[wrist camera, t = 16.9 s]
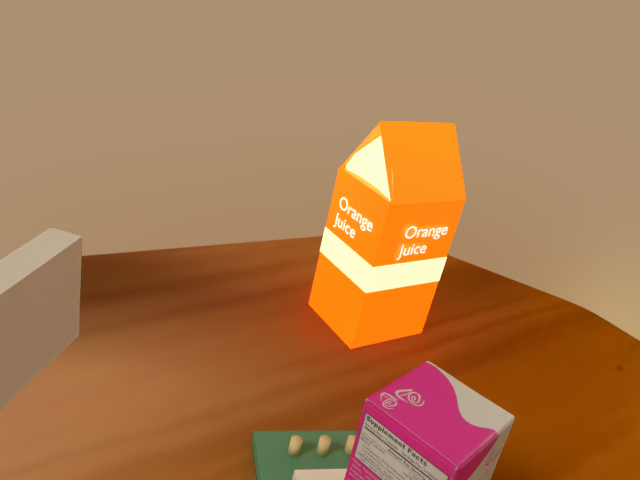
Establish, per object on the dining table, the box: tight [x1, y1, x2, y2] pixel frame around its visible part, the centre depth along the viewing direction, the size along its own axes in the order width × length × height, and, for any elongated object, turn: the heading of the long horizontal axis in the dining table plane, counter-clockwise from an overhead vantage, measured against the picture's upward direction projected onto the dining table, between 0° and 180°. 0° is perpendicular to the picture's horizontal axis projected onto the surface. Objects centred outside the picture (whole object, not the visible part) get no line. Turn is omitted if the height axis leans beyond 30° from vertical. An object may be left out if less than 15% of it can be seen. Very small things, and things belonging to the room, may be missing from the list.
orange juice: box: [309, 121, 466, 349], centre depth 56 cm, size 8×9×20 cm
